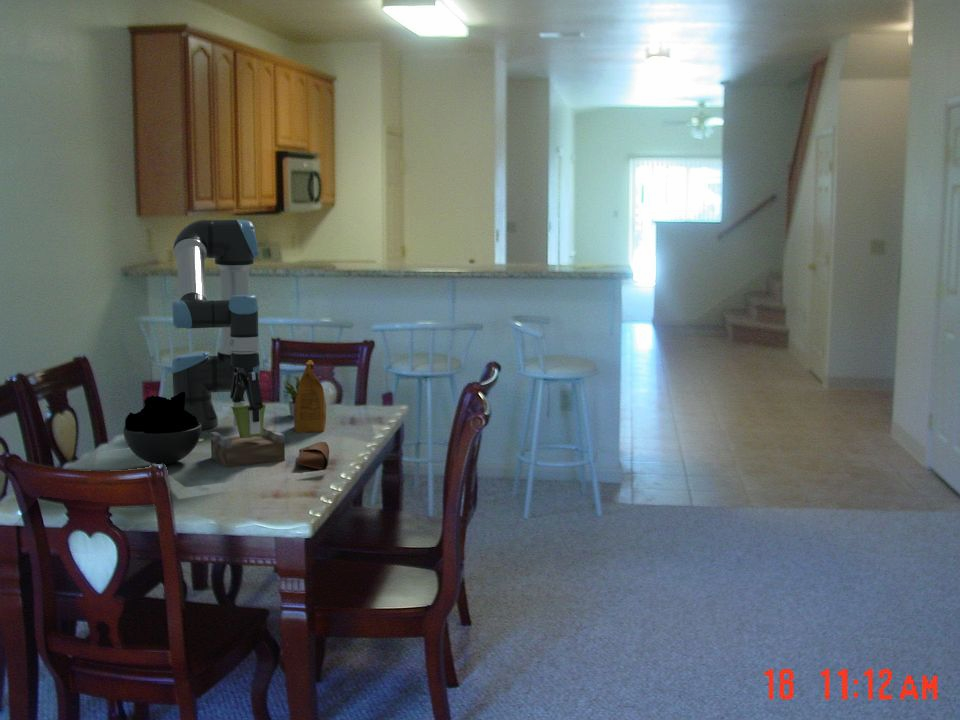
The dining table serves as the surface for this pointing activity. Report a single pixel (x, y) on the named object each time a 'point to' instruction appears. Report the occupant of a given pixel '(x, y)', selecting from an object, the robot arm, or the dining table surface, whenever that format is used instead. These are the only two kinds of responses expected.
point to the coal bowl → (162, 430)
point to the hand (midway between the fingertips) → (247, 429)
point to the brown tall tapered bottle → (310, 403)
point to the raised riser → (248, 448)
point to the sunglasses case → (314, 456)
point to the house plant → (292, 393)
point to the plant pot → (247, 421)
